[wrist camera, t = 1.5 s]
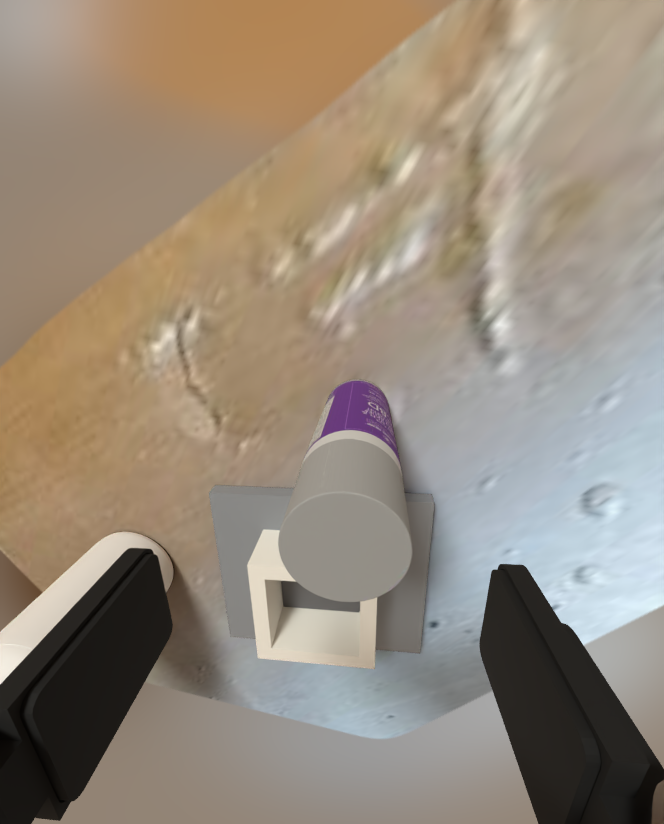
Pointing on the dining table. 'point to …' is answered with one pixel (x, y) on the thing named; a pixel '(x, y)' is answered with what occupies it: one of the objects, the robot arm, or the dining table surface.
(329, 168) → the dining table surface
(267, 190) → the dining table surface
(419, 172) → the dining table surface
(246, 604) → the square socket holder
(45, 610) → the pill bottle
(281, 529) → the container
